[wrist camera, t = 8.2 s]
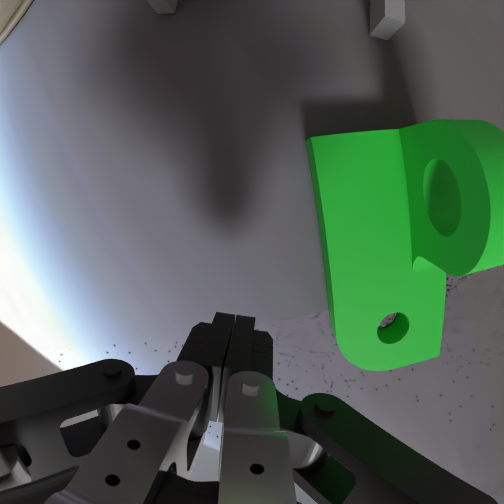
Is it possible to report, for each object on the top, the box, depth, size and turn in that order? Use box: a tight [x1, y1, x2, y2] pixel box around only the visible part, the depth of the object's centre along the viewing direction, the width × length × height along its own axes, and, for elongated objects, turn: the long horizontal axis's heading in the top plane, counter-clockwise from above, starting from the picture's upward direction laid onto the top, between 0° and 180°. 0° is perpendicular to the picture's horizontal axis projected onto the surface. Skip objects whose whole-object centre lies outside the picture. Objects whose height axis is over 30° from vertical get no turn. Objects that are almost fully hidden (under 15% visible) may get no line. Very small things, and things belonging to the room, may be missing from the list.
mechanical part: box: [306, 120, 504, 371], centre depth 11 cm, size 12×6×8 cm, turn 10°
